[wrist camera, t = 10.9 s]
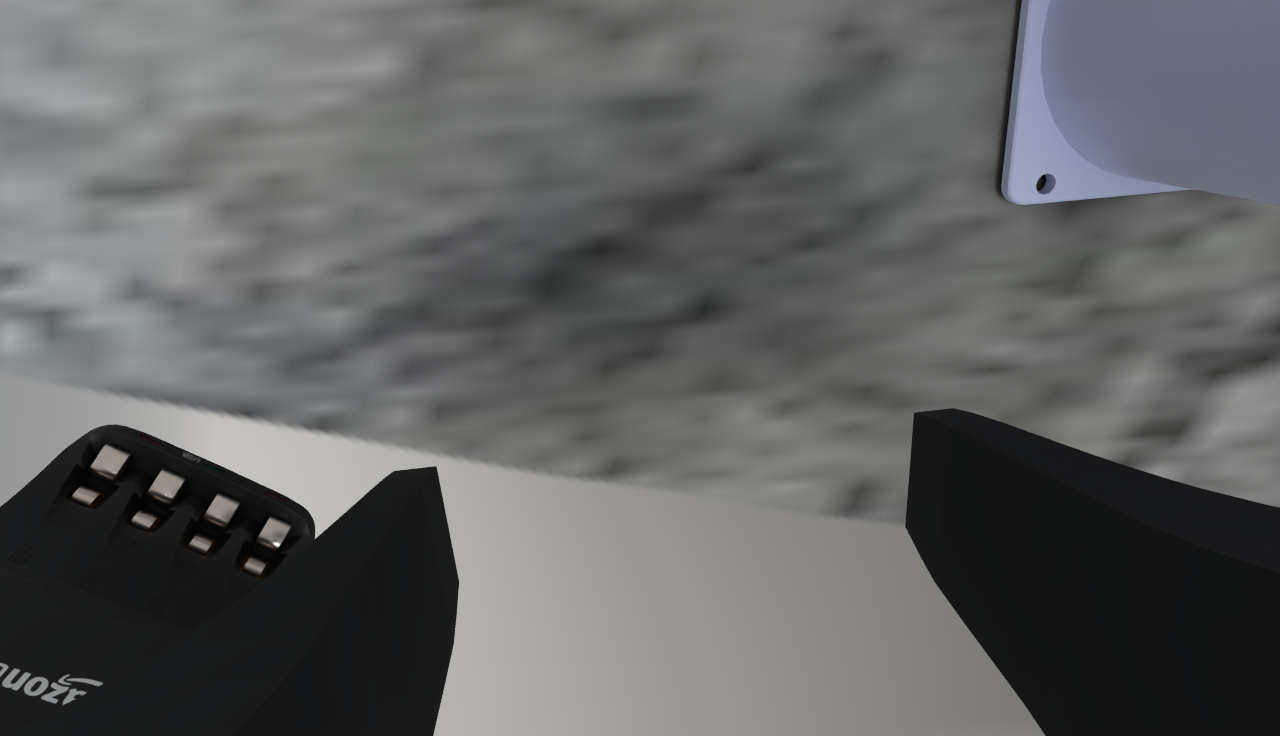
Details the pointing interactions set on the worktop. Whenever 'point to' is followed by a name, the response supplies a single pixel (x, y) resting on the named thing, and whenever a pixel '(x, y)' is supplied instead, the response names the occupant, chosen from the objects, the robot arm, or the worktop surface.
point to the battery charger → (125, 561)
